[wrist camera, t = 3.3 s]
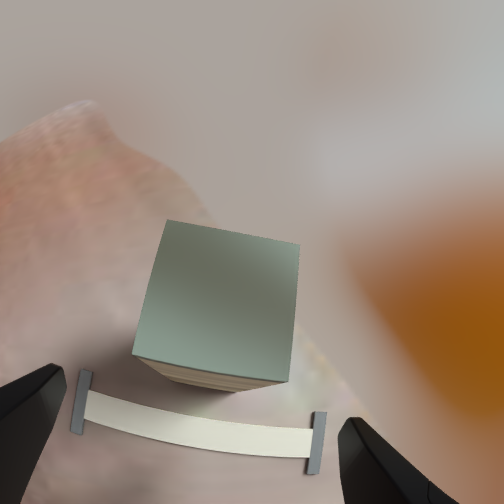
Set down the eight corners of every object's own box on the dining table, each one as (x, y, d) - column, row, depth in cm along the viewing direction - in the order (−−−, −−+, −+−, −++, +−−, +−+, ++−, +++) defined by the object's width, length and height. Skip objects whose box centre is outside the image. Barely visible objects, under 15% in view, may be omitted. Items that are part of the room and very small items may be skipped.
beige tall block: (236, 392, 18) (288, 381, 7) (172, 381, 18) (131, 353, 7) (244, 332, 20) (299, 244, 9) (183, 320, 20) (167, 219, 9)
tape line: (325, 412, 18) (326, 412, 18) (317, 473, 16) (318, 473, 16) (82, 368, 17) (81, 368, 17) (71, 430, 15) (70, 431, 15)
